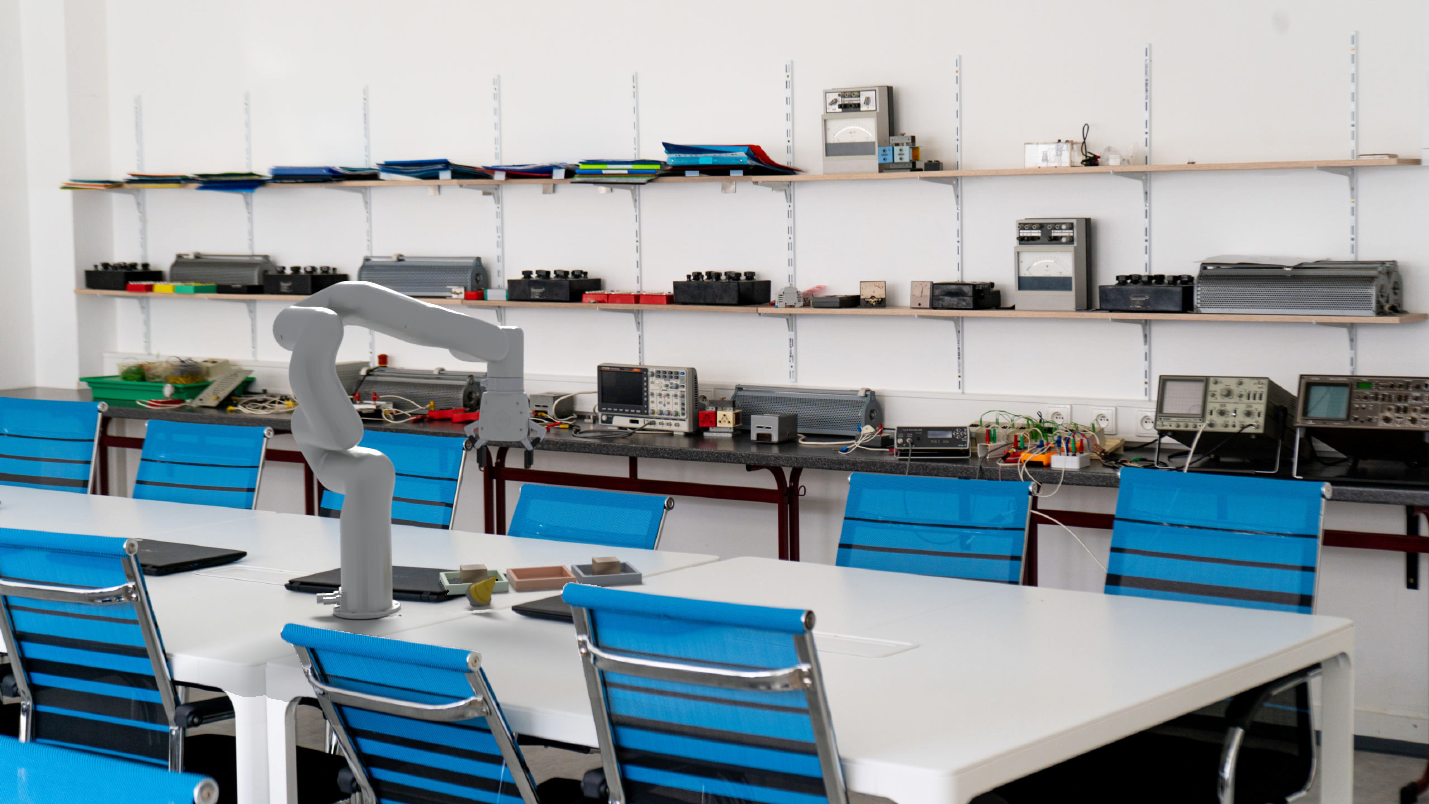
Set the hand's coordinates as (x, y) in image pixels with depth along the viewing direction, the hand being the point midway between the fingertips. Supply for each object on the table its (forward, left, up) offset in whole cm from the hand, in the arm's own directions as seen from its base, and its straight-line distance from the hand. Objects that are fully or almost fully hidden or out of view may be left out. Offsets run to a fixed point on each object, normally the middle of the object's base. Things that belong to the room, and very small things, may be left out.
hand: (505, 467), depth 275 cm
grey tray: (+21, -1, -25) cm, 33 cm away
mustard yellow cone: (-7, -17, -25) cm, 31 cm away
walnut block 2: (+21, -1, -24) cm, 32 cm away
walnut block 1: (-7, -1, -24) cm, 25 cm away
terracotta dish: (+7, -1, -25) cm, 26 cm away
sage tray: (-7, -1, -25) cm, 26 cm away
